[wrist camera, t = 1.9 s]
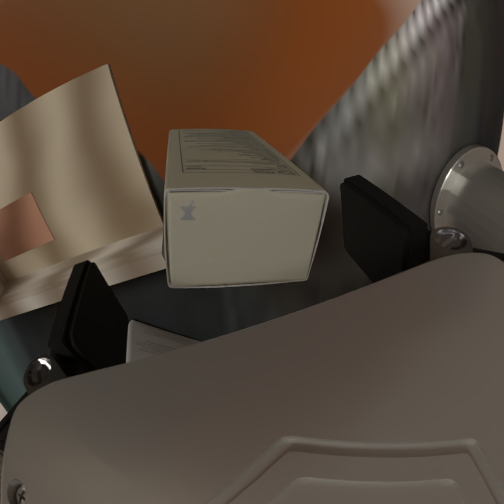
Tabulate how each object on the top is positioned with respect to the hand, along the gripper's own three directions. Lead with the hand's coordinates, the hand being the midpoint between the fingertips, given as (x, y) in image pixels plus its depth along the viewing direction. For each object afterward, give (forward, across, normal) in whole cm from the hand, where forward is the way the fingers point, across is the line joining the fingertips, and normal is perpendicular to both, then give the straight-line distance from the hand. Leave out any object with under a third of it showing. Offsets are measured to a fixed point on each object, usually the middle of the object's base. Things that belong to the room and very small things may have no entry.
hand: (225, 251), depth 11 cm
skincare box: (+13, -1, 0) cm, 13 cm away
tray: (+13, +13, -2) cm, 19 cm away
